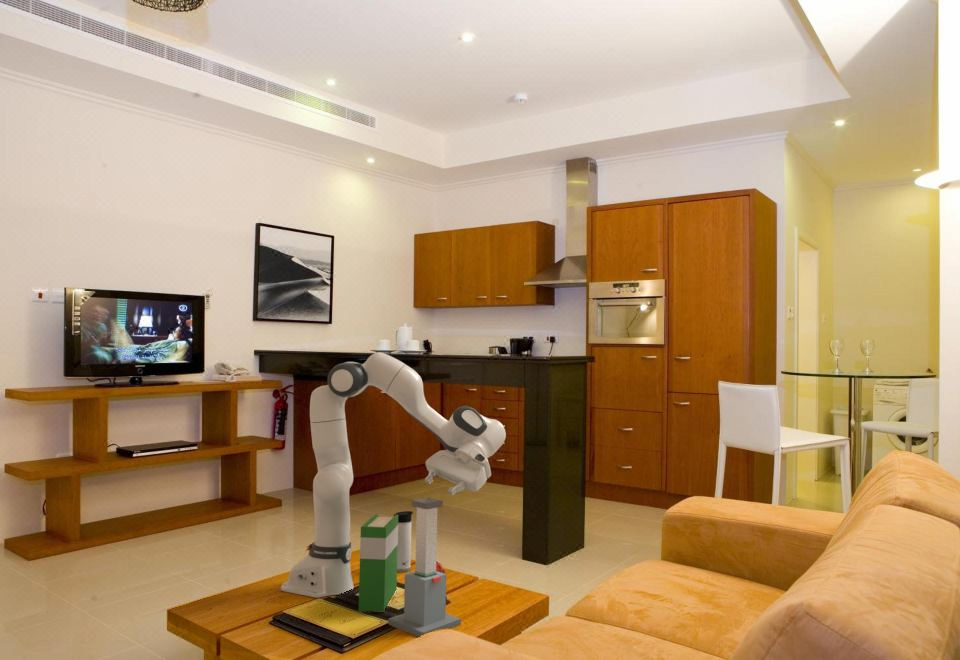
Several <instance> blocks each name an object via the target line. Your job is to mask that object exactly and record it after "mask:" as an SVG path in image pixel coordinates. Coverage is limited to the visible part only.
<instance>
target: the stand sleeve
mask: <svg viewBox="0 0 960 660" xmlns="http://www.w3.org/2000/svg"><path fill="white" fill-rule="evenodd" d="M403 593H404V594H403V595H404V601H403V613H402V614H398V615H396V616H395V615H394V616H393V617H390V618H388V619H387V621H388V622H387V625H389V626H391V627H393V628H396V629H399V630H401V631H404V632H407V634H408V633H409V634H411V635H414V636H416V637H418V638H420V637H419V636H421V635H424V634H426V633H429V632H432V631H435V630H439V629H446V628H450V629H452V628H454V627H457V626H461V624H462V623H461V622H462V619H461V618H460V617H457V616H454V615H452V614H449V613H446V611H447V610H446V608H447V607H446V606H447V605H446V604H447V601H446V600H447V573H445V574H444V573H441V572H438V571H436V575H433V576H430V577H426V578H424V577H421V576H418V575H415V570H414V571H412V572H411V571H409V572H406V573H405V574H404V592H403Z"/></svg>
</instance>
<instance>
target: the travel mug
mask: <svg viewBox="0 0 960 660" xmlns="http://www.w3.org/2000/svg"><path fill="white" fill-rule="evenodd" d="M413 514H414V512H413V511H412V510H411V511H409V510H405V511H399V512H396V513H394V514H393V517H394V516H395V515H398V550H397V573H408V572H410V570H411V564H412V563H411V562H412V561H411V558H412V555H411V554H412V515H413Z"/></svg>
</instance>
